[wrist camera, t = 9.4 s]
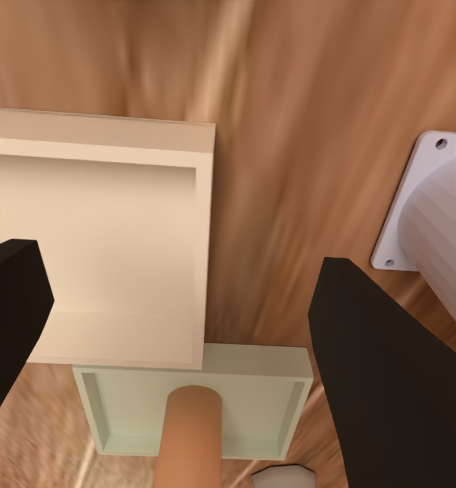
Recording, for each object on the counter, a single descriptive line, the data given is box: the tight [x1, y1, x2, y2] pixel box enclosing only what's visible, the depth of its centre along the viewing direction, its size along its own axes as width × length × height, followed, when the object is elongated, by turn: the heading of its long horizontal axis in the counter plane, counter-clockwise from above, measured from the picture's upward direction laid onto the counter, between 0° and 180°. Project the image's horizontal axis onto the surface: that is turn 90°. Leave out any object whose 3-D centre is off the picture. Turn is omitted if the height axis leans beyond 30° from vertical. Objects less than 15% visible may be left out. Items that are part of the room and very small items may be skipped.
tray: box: [72, 343, 314, 461], centre depth 27 cm, size 16×12×2 cm
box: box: [0, 108, 216, 370], centre depth 18 cm, size 13×13×4 cm
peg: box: [153, 385, 222, 488], centre depth 24 cm, size 4×4×7 cm
